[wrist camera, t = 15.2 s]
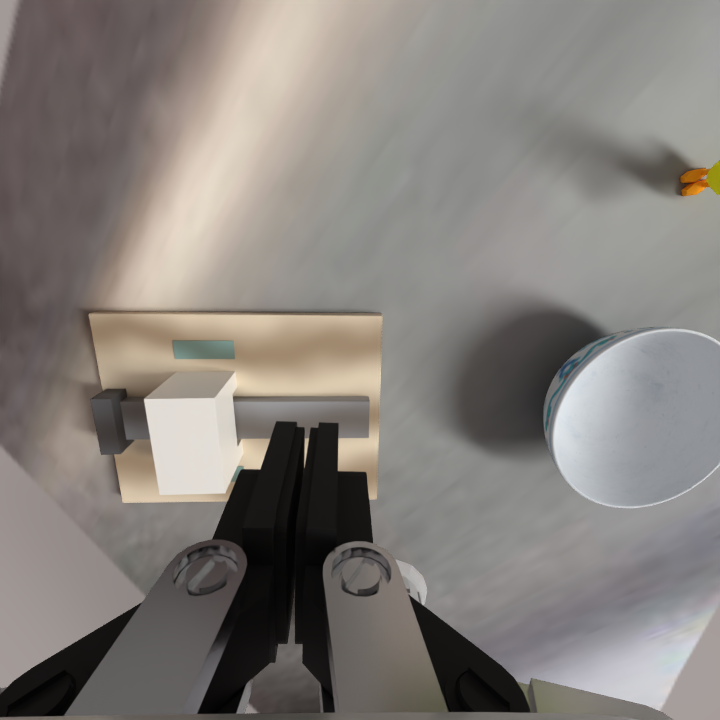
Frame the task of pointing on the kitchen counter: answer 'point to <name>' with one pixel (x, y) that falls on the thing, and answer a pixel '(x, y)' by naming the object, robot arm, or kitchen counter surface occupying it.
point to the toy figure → (716, 180)
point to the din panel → (240, 383)
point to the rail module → (194, 432)
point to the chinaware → (636, 416)
